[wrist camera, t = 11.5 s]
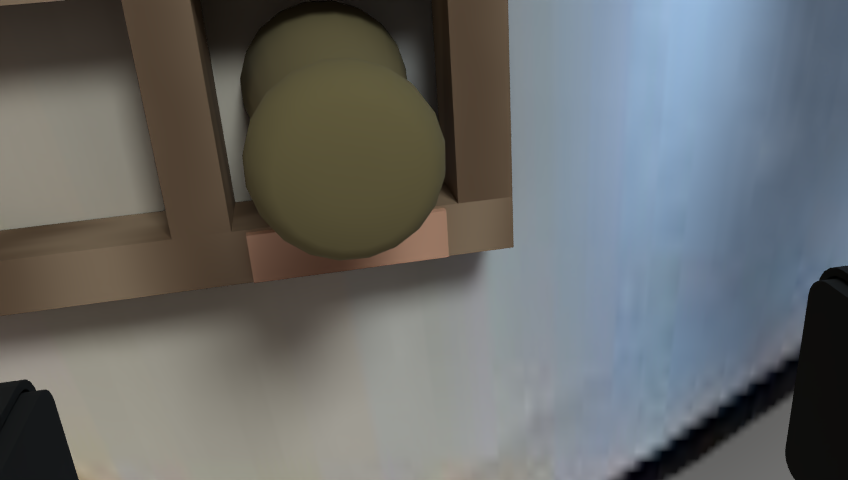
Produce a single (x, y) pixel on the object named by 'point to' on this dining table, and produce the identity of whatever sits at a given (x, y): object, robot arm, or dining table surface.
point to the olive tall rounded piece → (337, 134)
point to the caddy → (240, 221)
